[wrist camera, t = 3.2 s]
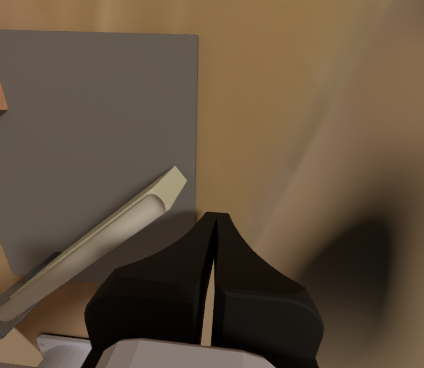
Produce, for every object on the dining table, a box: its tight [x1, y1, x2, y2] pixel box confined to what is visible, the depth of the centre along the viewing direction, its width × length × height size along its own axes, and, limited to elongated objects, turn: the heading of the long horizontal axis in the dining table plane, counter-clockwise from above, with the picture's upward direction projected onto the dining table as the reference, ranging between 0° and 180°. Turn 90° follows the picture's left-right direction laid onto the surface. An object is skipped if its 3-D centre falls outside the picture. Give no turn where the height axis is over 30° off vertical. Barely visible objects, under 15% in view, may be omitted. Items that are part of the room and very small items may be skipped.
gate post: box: [0, 252, 62, 339], centre depth 14 cm, size 2×2×6 cm
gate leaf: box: [0, 166, 187, 321], centre depth 12 cm, size 12×1×5 cm, turn 127°
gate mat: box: [0, 30, 198, 284], centre depth 14 cm, size 18×16×1 cm
